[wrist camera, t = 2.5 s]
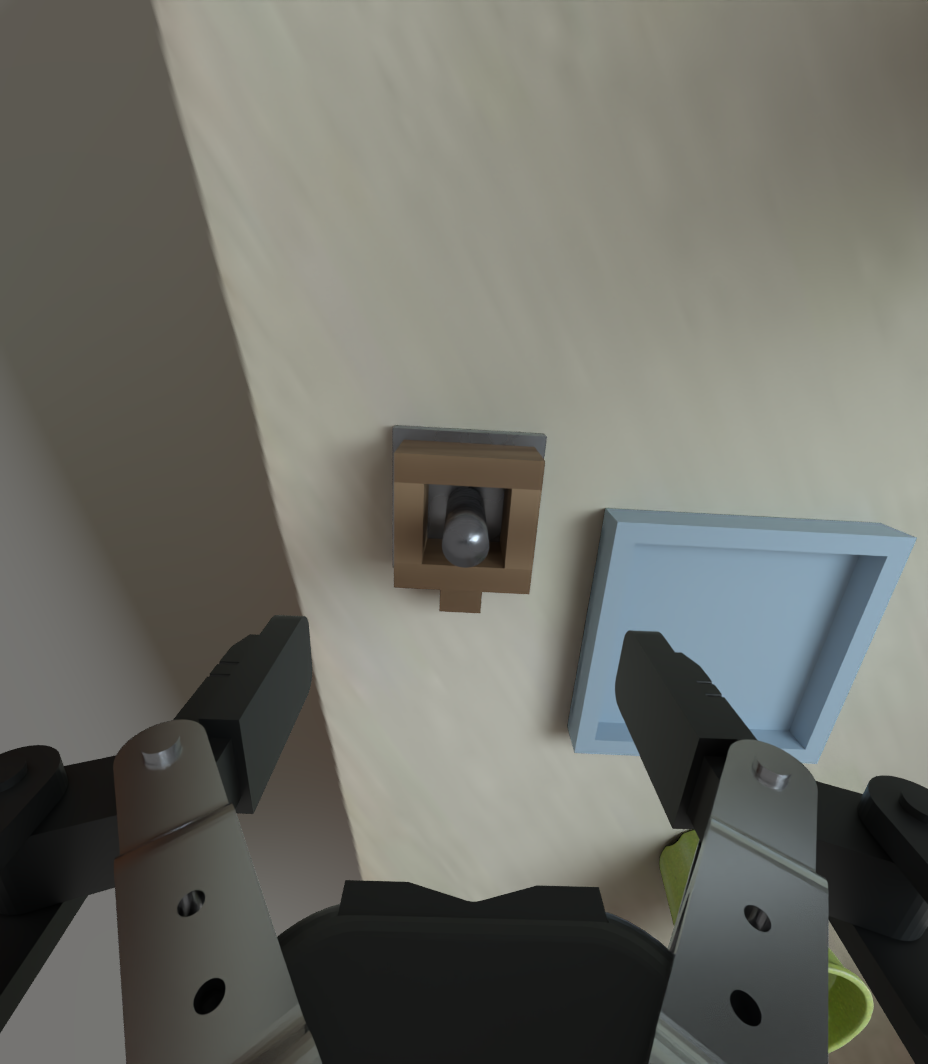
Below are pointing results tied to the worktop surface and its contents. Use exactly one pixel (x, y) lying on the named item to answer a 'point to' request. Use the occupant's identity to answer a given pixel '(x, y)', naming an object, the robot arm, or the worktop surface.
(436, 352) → the worktop surface
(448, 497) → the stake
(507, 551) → the brown hollow rectangular frame
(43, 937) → the robot arm
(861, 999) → the plant pot
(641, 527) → the tray
